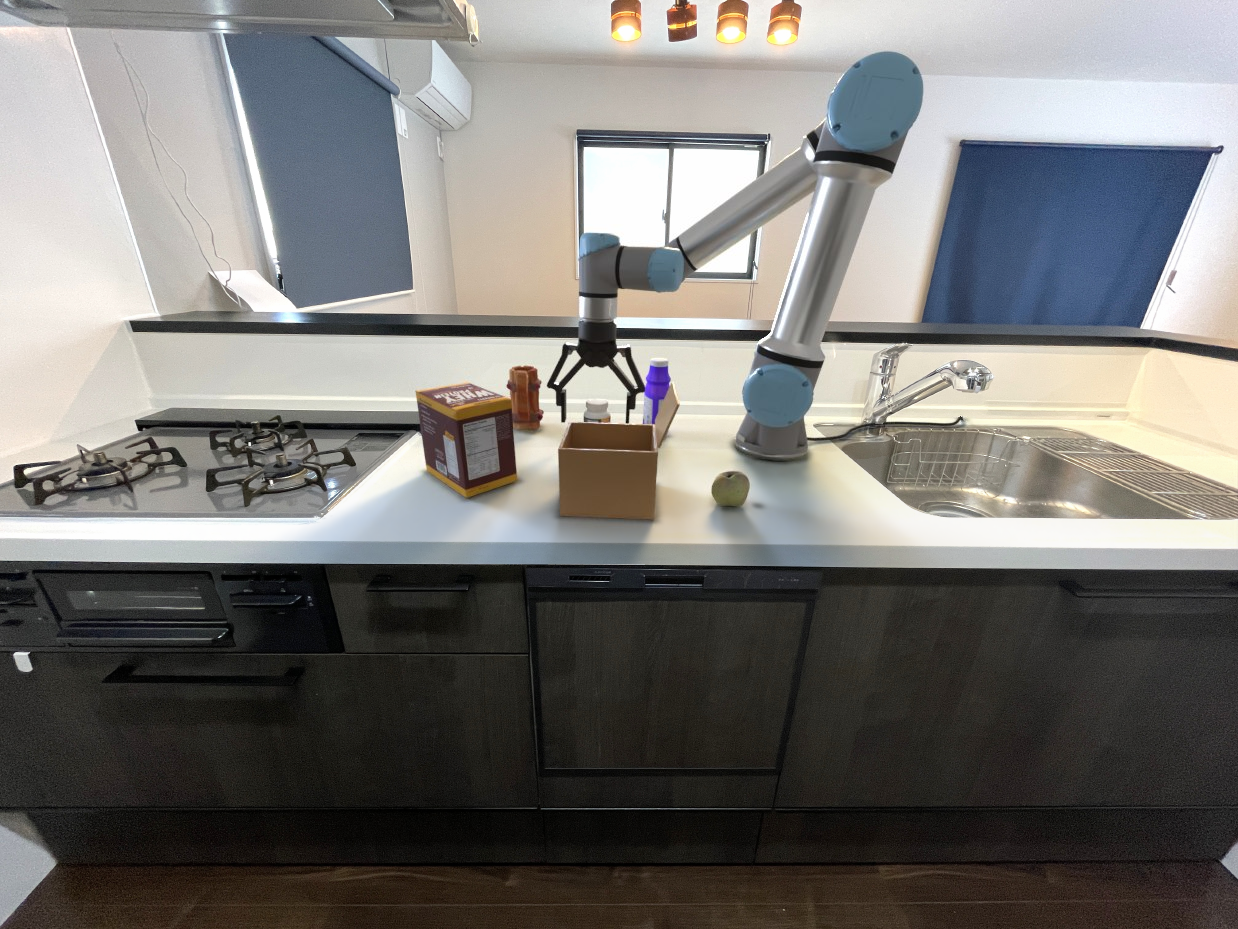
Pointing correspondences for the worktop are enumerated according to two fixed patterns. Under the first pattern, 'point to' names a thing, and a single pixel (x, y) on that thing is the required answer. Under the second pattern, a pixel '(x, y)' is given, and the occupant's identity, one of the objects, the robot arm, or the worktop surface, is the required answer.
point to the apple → (730, 488)
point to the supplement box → (467, 437)
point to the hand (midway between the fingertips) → (595, 422)
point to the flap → (666, 414)
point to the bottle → (655, 389)
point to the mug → (525, 397)
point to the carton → (608, 470)
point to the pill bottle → (597, 411)
